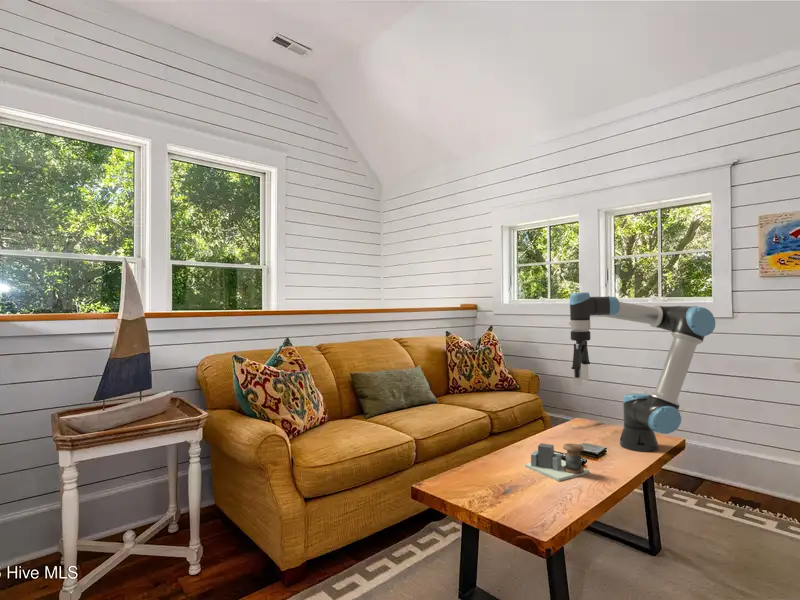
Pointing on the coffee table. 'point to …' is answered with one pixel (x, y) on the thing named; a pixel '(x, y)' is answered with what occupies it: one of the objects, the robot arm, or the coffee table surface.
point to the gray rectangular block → (545, 455)
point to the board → (555, 472)
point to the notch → (556, 460)
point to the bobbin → (573, 458)
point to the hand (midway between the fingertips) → (581, 382)
